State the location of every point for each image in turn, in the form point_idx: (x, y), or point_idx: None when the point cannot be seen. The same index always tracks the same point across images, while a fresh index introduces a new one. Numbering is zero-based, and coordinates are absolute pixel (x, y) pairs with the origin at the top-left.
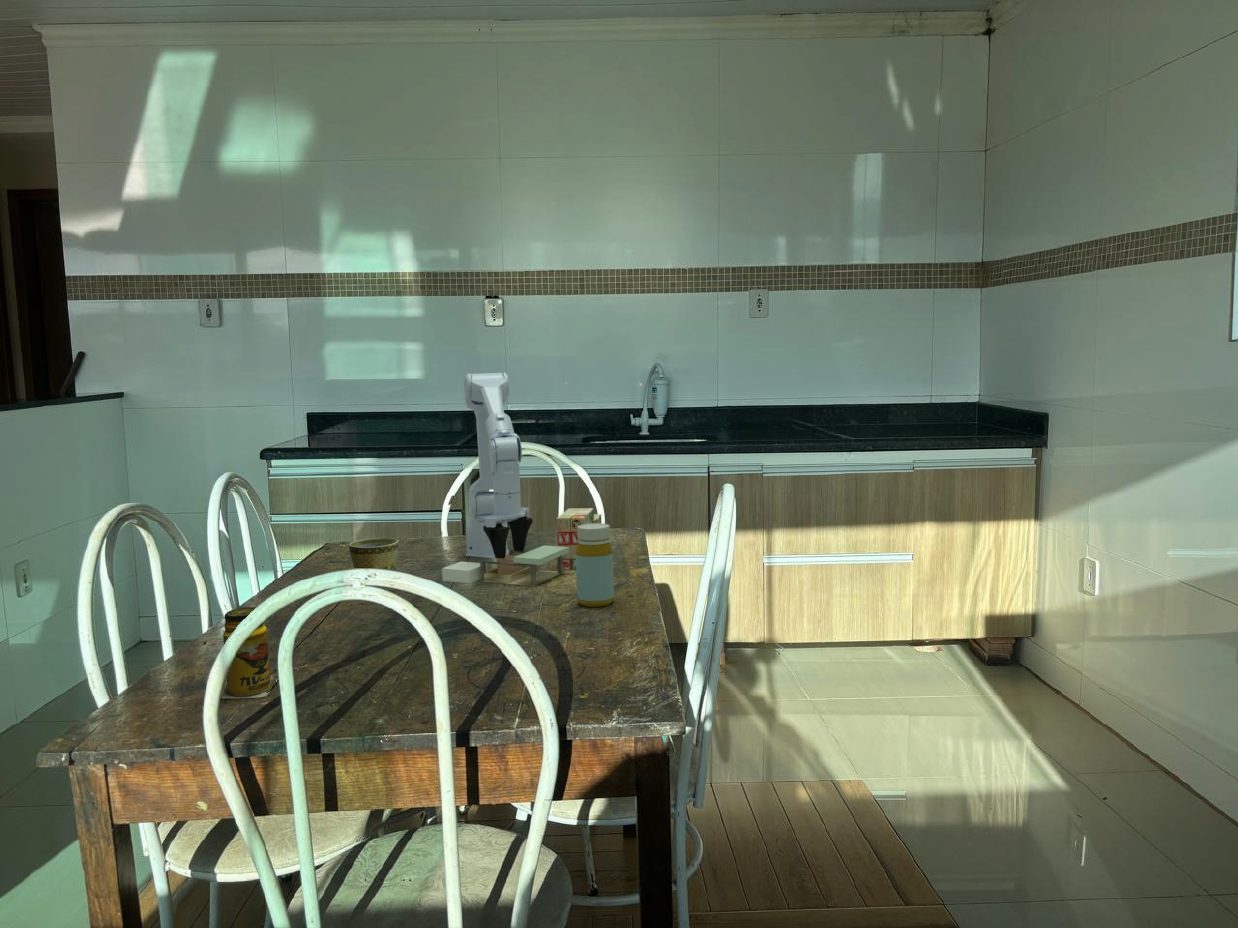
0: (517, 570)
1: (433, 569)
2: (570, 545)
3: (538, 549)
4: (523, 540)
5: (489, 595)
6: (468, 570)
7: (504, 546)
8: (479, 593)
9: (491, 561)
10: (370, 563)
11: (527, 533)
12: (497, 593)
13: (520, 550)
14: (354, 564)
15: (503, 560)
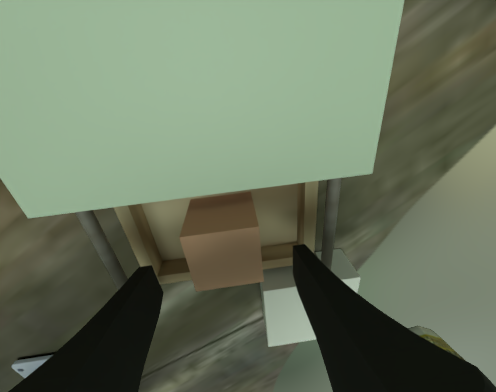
0: (225, 204)
1: (247, 366)
2: None
3: (137, 175)
4: (125, 307)
5: (446, 128)
6: (357, 279)
7: (332, 279)
8: (423, 171)
9: (330, 261)
10: None
11: (65, 344)
12: (421, 121)
13: (152, 275)
14: None
15: (260, 257)
